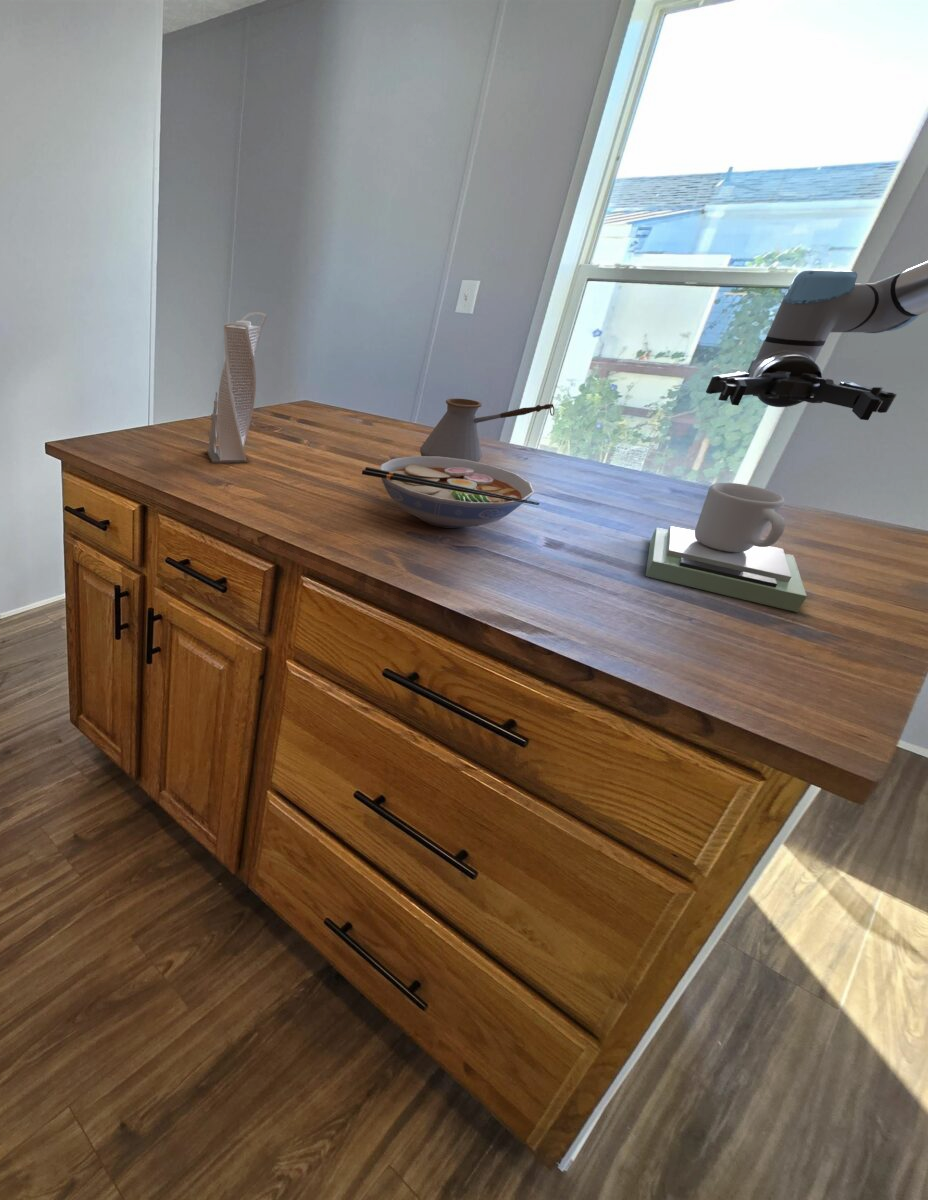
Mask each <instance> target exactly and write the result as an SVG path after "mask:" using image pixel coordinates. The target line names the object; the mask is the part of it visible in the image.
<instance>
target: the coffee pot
mask: <svg viewBox="0 0 928 1200" xmlns="http://www.w3.org/2000/svg"><path fill="white" fill-rule="evenodd" d="M445 403H446V407H447V409H446V412H445V413H444V415H443V416H442V417H441V419H440V420H439V422H438V423H437V424H436V425H435V427H434V428H433V429H432V431H431V432H430V434H429V435H428V436H427V438H426V439H425V441H424V442H423V443H422V445H421V446H420V448H419V452H420V456H436V457H447V458H455V459H464V460H470V461H474V462H479V461H481V460H482V457H483V454H482V447H481V441H480V436H479V429H478V423H483V422H488V421H492V420H497V419H504V418H511V417H519V416H524V415H525V416H526V415H528V414H531V413H534V412H537V413H540V412H541V411H542V410H549V415H550V416H552V417H553V416H554V415H555V406H554V404H553V403H548V404H544V405H540V404H537V405H535V406H530V407H521V408H517V409H513V410H509V411H504V412H501V413H496V414H492V415H486V416H480V417H476V414H477V412H478V410H479V408H481V407H482V406H483V404H482V403H481V402H480V401H477V400H473V399H467V398H448V399H446V400H445Z"/></svg>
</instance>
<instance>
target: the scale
mask: <svg viewBox="0 0 928 1200" xmlns="http://www.w3.org/2000/svg"><path fill="white" fill-rule="evenodd" d="M646 563H647V564H646V570H645V577H647V578H652V579H656V580H659V581H665V582H668V583H671V584H672V583H673V584H676V585H681V586H685V587H689V588H694V589H697V590H702V591H706V592H711V593H715V594H718V595H722V596H727V597H731V598H735V599H740V600H744V601H747V602H751V603H756V604H760V605H765V606H769V607H773V608H777V609H782V610H785V611H789V612H794V613H798V612H799V611H800V608H801V607H802V605H803V604H804V602H805V600H806V599H807V598H808V595H807V592H806V589H805V585H804V583H803V580H802V576H801V574H800V571H799V568H798V564H797V561H796V558H795V555H793V554H788V553H785V551H784V548H782V547H776V546H773V545H771V546H768V547H757V546H753V547H752V548H751V549H749V550H747V551H744V552H727V551H721V550H717V549H714V548H710V547H708V546H705V545H703V544H701V543H700V542H699V541H697V539H696V538H695V530H693V529H688V528H682V527H677V526H673V525H670V526H669V528H668V529H665V528H661V527H655V529H654V532H653V534H652V537H651V539H650V542H649V548H648V554H647V562H646Z"/></svg>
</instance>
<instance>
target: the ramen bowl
mask: <svg viewBox="0 0 928 1200" xmlns="http://www.w3.org/2000/svg"><path fill="white" fill-rule="evenodd" d="M364 468H365V469H362V471H361V475H364V476H368V477H375V478H380V479H381V482H382V484H383V487H384V489H385V490H386V493H387V494H388V495H389V497H390V498H391V500H392V501H393V502H394V503H395V504H396V505H397V506H398V508H400V509H401V510H403V511H404V512H405V513H407V514H410V515H412V516H414V517H416V518H418V519H420V520H421V521H422V522H424V523H426V524H429V525H431V526H434V527H439V528H444V529H460V528H466V527H468V528H469V527H478V526H482V525H488V524H491V523H494V522H498V521H500V520H502V519H504V518H505V517H507V516H508V515H509V514H511V513H512V512H514V511H515V510H516V509H518V508H519V507H521V505H523V504H529V505H535V506H539V505H540V502H537V501H533V500H529V498H530V497H532V496H533V495H534V493H535V490H534V488H533V485H532V483H531V482H530V481H529V480H527V479H525V478H524V477H522V476H521V475H519V474H517V473H516V472H512V471H509V470H506V469H503V468H500V467H498V466H495V465H491V464H488V463H487V464H486V463H482V462H479V461H478V462H474V461H470V460H464V459H455V458H447V457H436V456H421V455H418V456H417V455H412V456H403V457H398V458H392V459H390V460H388V461H386V462H384V463H381V465H380V469H379V468H375V467H370V466H366V467H364Z"/></svg>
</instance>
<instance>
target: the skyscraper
mask: <svg viewBox="0 0 928 1200" xmlns="http://www.w3.org/2000/svg"><path fill="white" fill-rule="evenodd" d="M250 316H251V317H252V316H263V318H262V321H261V323H260V325H252V321H250V320H246V319H247V318H248V317H250ZM267 317H268V315H267V314H266V313H265V312H262V311H251V312H248V313H247V314H245V315H243V316H242V318H241V319H240V320H236V321H235V322H227V323H225V324H224V325H223V339H224V340H223V341H224V355H225V359H224V362H223V365H222V366H223V367H222V370H221V376H220V380H219V387H218V391H215V398H214V401H213V411H212V413H211V415H210V418H211V419H210V427H209V428H210V430H209V435H208V440H209V441H208V447H207V450H206V454H207V455H208V457H209V459H210V461H211V463H213V464H219V463H221V464H223V463H225V464H227V463H229V464H230V463H232V464H233V463H237V464H238V463H239V464H240V463H242V464H243V463H247V458H246V457H247V456H246V453H245V449H244V448H245V444H246V442H247V441H246V440H247V438H248V434H249V432H250V431H249V430H250V426H251V422H252V417H253V412H254V408H255V400H256V390H257V389H256V388H257V386H256V385H257V378H256V375H257V374H256V365H255V356H256V352H257V348H258V345H259V341H260V337H261V334H262V330H263V327H264V324H265V322H266V319H267ZM217 440H218V441H217ZM217 442H218V447H217Z"/></svg>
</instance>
